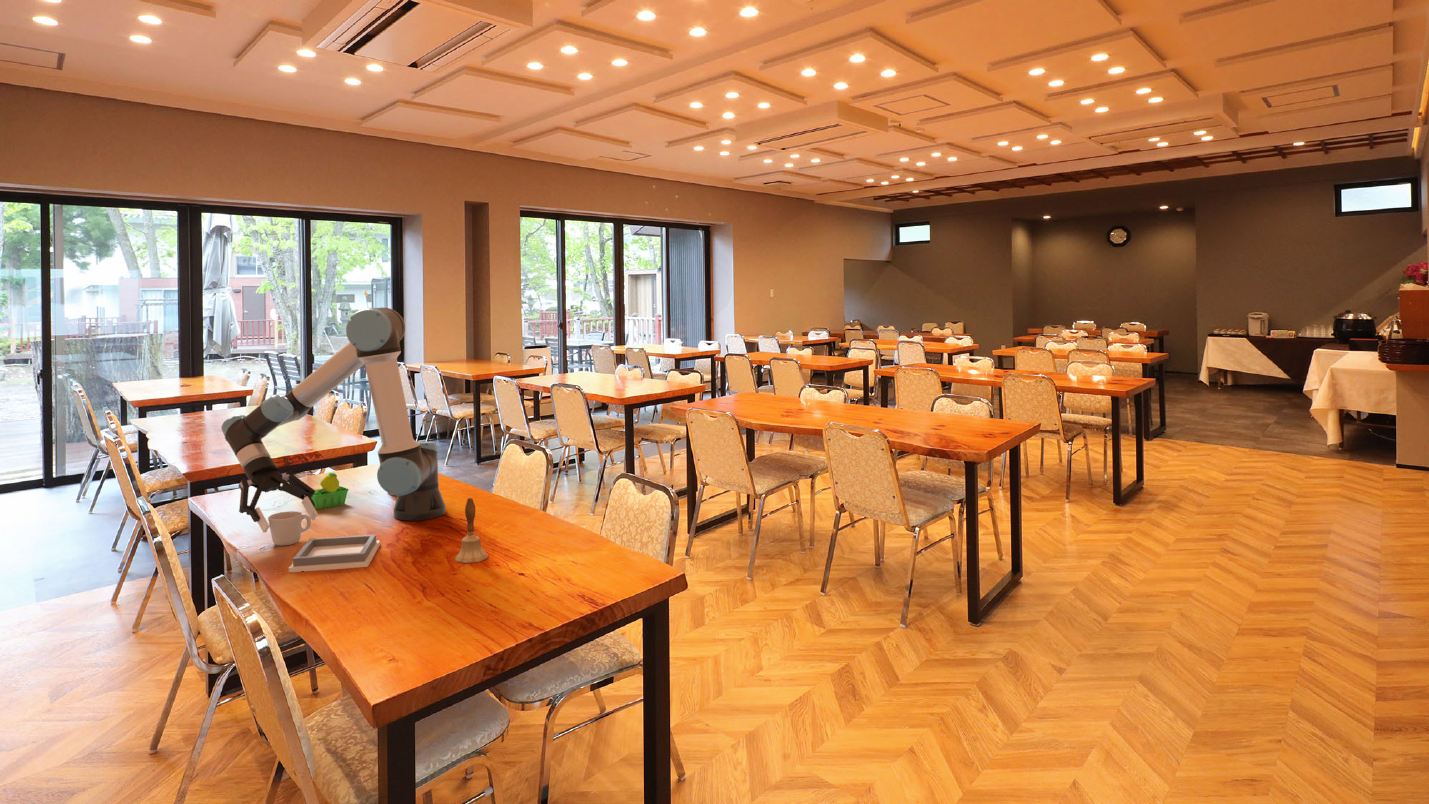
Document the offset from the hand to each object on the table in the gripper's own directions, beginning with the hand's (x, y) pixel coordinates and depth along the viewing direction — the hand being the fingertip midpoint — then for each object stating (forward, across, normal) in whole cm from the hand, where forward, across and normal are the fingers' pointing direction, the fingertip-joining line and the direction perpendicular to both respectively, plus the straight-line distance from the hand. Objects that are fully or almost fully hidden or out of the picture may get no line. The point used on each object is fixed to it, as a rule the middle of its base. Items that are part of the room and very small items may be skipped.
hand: (291, 523), depth 212 cm
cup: (+3, 0, -5) cm, 6 cm away
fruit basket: (-15, -28, -23) cm, 39 cm away
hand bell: (+40, -17, +32) cm, 55 cm away
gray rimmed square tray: (+19, +1, +12) cm, 22 cm away
